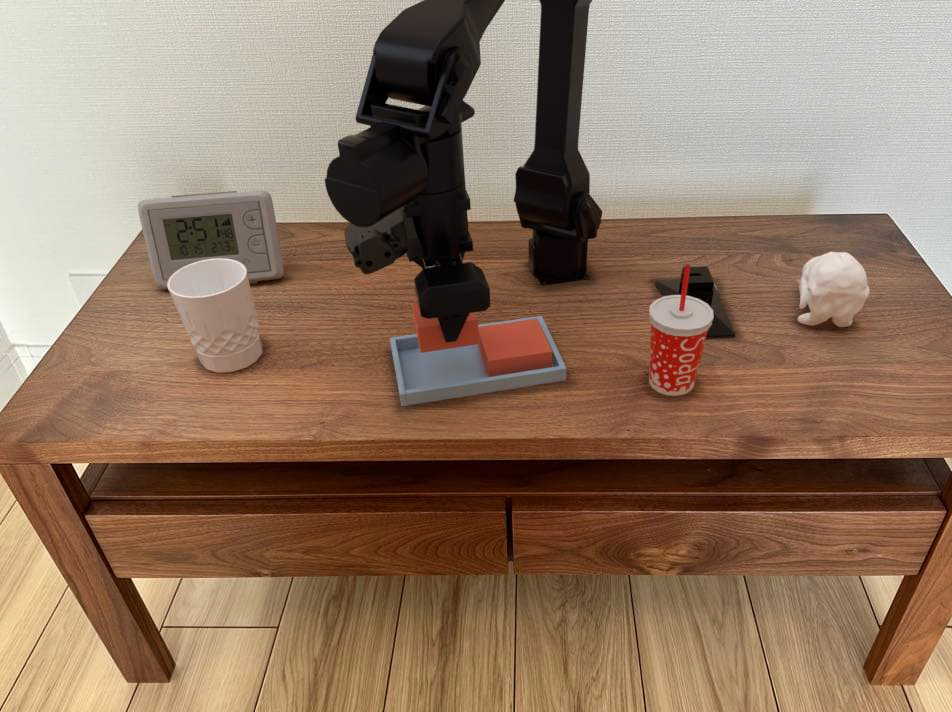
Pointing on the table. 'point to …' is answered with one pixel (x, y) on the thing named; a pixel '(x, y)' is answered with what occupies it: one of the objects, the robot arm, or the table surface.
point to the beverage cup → (677, 340)
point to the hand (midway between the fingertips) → (446, 326)
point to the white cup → (218, 313)
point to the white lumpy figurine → (832, 289)
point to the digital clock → (212, 233)
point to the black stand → (701, 298)
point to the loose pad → (433, 336)
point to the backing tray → (460, 370)
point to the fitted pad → (514, 347)
